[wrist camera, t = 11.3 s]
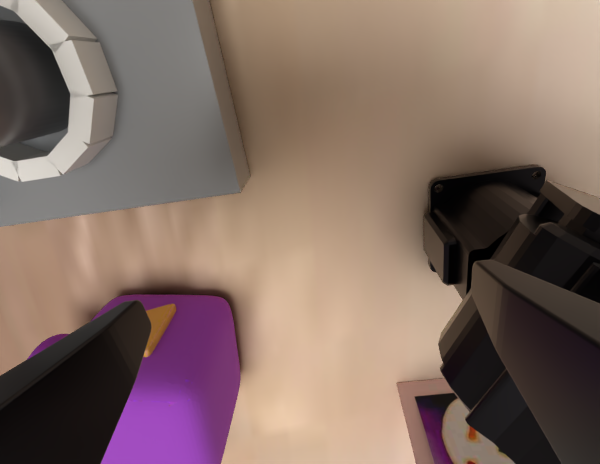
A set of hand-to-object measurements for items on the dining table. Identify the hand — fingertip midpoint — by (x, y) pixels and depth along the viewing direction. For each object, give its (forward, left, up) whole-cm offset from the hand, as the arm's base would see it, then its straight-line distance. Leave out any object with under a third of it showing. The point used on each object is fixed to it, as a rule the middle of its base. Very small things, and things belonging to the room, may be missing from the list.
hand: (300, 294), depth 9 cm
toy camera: (+14, +12, -13) cm, 23 cm away
